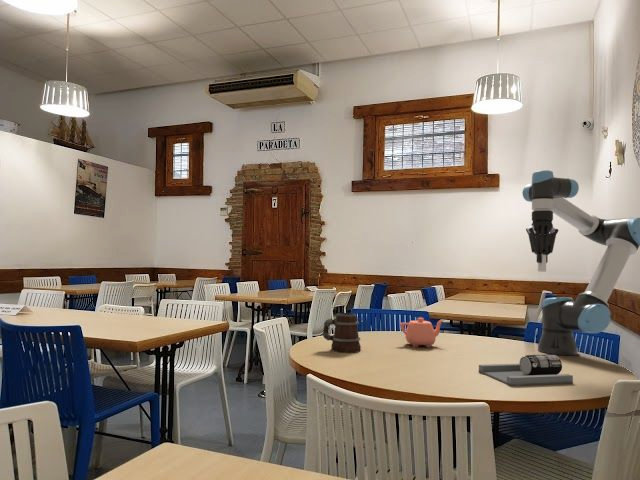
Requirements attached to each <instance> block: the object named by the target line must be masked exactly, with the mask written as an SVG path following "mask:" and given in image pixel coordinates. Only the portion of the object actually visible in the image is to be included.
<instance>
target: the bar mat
mask: <svg viewBox="0 0 640 480" xmlns="http://www.w3.org/2000/svg"><path fill="white" fill-rule="evenodd" d="M478 372H479V373H481V374H483V375H485V376H487V377H490V378H492V379H493V380H494V379H495V380H497V381H499V382H501V383H504V384H506V385H507V386H510V387H513V386H514V387H516V386H539V385H540V386H541V385H543V386H544V385H566V384H567V385H568V384H573V383H574V375H572V374H570V373H567V374H566V373H564V374H563V373H561V374H560V373H559V374H557V375H530V376H529V375H526V374H524V373H523V372H522V371H521V369H520V363H498V364H496V363H494V364H493V363H491V364H488V363H487V364H478Z"/></svg>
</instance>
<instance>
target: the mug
mask: <svg viewBox="0 0 640 480" xmlns="http://www.w3.org/2000/svg"><path fill="white" fill-rule="evenodd" d="M335 316H336V317H335V318H334V319H333V318H328V319H326V320H325V321H324V323H323V325H324V326H323V331H322V332H321V334H322V336H323V338H324V339H325V340H326V341H332V342H331V350H332V352H336V351H337V352H336V353H344V352H346V353H347V354H350V353H351V352H352V353H358V352H360V351H362V350H361V347H362V346H361V343H360V341H361V337H359V329H358V325H359V324H360V321H359V320H358V318H357V314H356V313H354V312H338V313H336V315H335ZM332 325H333V326H334V332H333V334H332V335H331V334H330V333H329V329H330V328H329V327H331V326H332Z"/></svg>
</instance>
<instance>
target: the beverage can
mask: <svg viewBox="0 0 640 480" xmlns="http://www.w3.org/2000/svg"><path fill="white" fill-rule="evenodd" d="M519 364H520V369H521V371H522V372H523V373H524V374H526V375H529V376H530V375H559V374H560V373H561V371H562V369H563V363H562V361H561V358H559V356H557V354H550V353H549V354H527V355H524V356H522V357H520V359H519Z"/></svg>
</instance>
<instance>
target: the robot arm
mask: <svg viewBox="0 0 640 480" xmlns="http://www.w3.org/2000/svg"><path fill="white" fill-rule="evenodd" d="M579 187H580V186H579V183H578V181H576V180H575V179H571V178H569V177H568V178H564V177H554V172H553V171H551V170H548V169H543V170H536V171H534V172H533V173H532V177H531V183H528V184H527V185H525V186H524V187H523V189H522V192H521V193H522V198H523V199H524V200H525V201H526V202H528V203H529V202H530V203H531V210H532V211H531V221H532V223H531V226H530V227H527V228H525V230H526V232H527V234H528V239H529V244H530V249H531V253H533V254H534V255H536V263H537V272H543V273H544V272H545V273H546V272H547V263H548V255H550V254H552V253H553V251H554V246H555V242H556V238H557V234H558V232H559V228H555V227H554V225H553V221H554V215H555V216H556V217H559V218H560V219H562V220H563V221H565V222H566V223H568V224H569V225H571V226H572V227H574V228H576V229H578V232H579V234H581V235H582V236H583V237H585V238H587V239H589V240H591V241H593V242H595V243H597V244H599V245H601V246H606V249H605V252H604V254H603V255H602V257H601V258H600V261H599V263H598V265H597V267H596V268H595V271H594V272H593V275H592V277H591V279H590V280H589V283H588V285H587V286H586V289H585V290H584V292H580V293H579V294H578V295H577V297H576V299H575V300H574V299H573V297H571V296H570V297H569V296H568V297H567V296H566V297H565V296H563V297H547V298H546V297H545V298H544V299H543V301H542V306H541V307H542V309H541V310H542V313H541V315H542V318H541V319H542V334H541V336H540V339H539V342H538V343H537V345H538V346H537V351H539V352H542V353H546V354H549V355H550V354H554V355H561V356H576V355H578V350H579V349H578V346H577V343H576V340H575V336H574V331H577V332H582V333H587V334H600V333H602V332H603V331H605V330H606V329H607V328H608V327H609V325H610V324H611V318H612V317H610V316H612V314H611V310H610V305H609V303H608V302H609V301H608V300H609V299H610V296H611V295H612V293H613V290H614V288H615V286H616V284H617V283H618V280H619V278H620V277H621V274H622V273H623V271H624V268H625V266H626V264H627V262H628V260H629V259H630V256H632V255H635V254H636V253H637V252H638V250H639V248H640V217H631V216H630V217H629V218H628V217H627V218H613V219H603V218H599V217H598V216H596V215H590V214H589V213H587V212H586V211H584V210H583V209H581V208H579V207H578V206H576V205H575V204H573V203H572V202H571V201H569V200H568V199H572V198H574V197H575V196H577V194H579V193H578V192H579V191H580V190H579V189H580V188H579Z"/></svg>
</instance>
